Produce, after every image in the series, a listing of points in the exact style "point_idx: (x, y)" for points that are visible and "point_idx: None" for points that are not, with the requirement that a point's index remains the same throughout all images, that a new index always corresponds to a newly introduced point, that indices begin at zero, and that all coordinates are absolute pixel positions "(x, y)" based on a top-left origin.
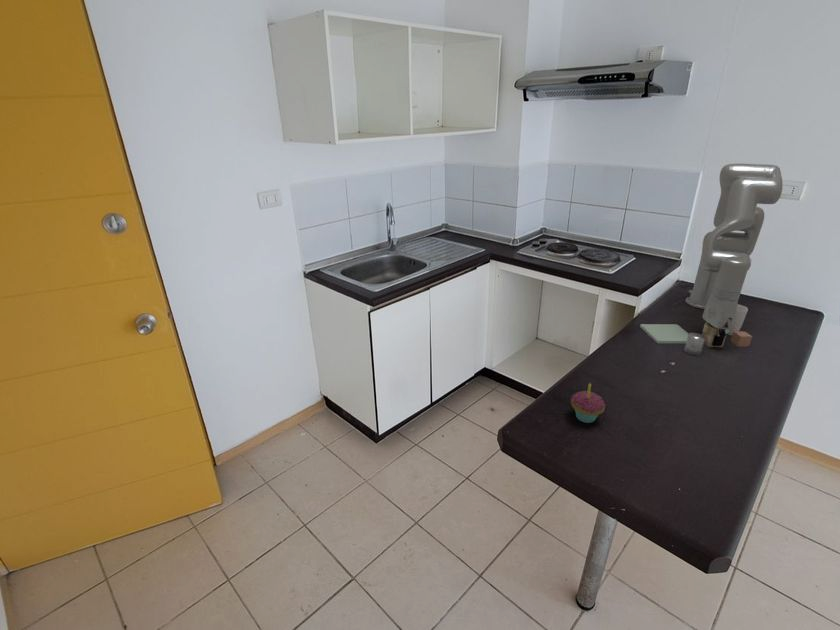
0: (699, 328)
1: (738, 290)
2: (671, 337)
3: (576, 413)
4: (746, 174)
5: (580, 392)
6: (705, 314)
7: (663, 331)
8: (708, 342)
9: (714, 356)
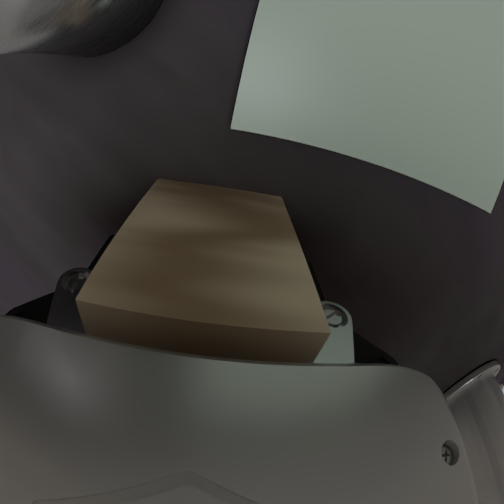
0: (407, 311)
1: None
2: None
3: None
4: None
5: None
6: (412, 457)
7: (455, 15)
8: (161, 193)
9: (29, 130)
